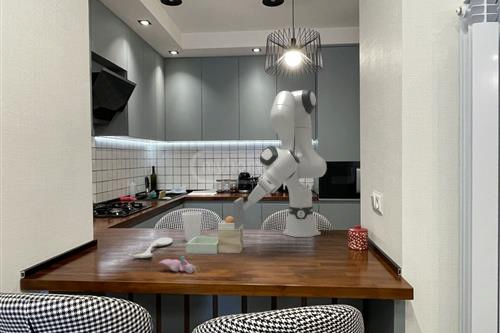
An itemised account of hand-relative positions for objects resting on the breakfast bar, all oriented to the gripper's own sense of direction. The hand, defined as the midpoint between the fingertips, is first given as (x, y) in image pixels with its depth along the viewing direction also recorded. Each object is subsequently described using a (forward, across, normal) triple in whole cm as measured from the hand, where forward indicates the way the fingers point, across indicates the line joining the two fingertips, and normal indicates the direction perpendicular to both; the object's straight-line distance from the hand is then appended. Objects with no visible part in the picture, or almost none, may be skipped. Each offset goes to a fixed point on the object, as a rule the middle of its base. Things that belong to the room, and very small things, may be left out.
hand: (245, 206), depth 145 cm
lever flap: (+11, 0, +2) cm, 12 cm away
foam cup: (+34, -17, -8) cm, 39 cm away
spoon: (+42, +3, -15) cm, 44 cm away
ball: (+9, 0, -1) cm, 9 cm away
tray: (+26, 0, 0) cm, 26 cm away
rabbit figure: (+27, +28, 0) cm, 39 cm away
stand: (+18, 0, +8) cm, 20 cm away
